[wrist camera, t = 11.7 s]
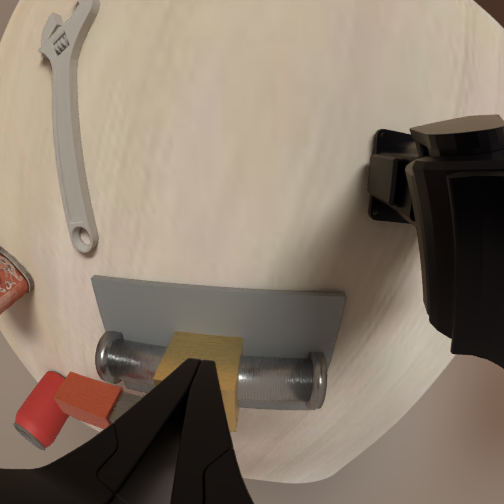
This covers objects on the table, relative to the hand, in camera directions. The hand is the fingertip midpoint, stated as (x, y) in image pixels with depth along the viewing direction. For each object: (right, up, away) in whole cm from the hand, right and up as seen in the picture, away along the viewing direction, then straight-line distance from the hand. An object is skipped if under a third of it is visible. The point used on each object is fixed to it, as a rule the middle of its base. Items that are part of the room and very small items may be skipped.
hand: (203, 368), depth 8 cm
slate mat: (-2, -6, +17) cm, 18 cm away
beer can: (-27, -17, +23) cm, 40 cm away
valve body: (-2, -6, +17) cm, 18 cm away
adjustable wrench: (-15, +16, +9) cm, 24 cm away
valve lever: (-8, -8, +11) cm, 16 cm away
